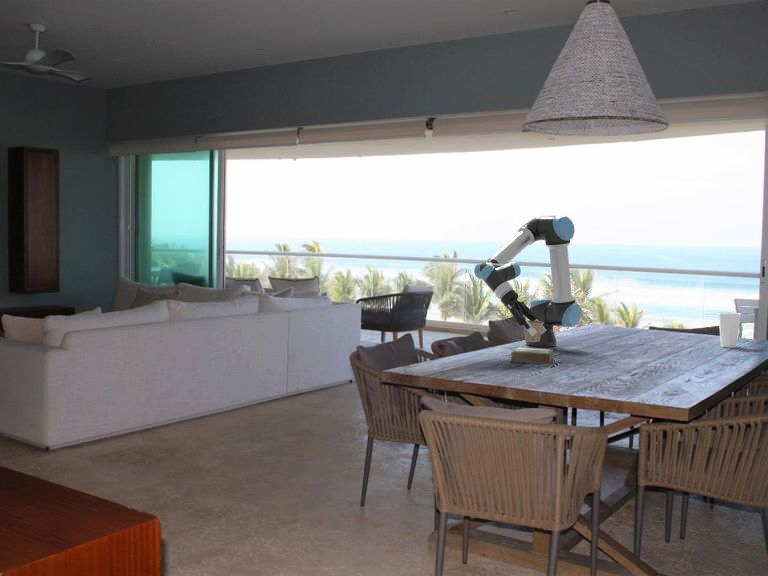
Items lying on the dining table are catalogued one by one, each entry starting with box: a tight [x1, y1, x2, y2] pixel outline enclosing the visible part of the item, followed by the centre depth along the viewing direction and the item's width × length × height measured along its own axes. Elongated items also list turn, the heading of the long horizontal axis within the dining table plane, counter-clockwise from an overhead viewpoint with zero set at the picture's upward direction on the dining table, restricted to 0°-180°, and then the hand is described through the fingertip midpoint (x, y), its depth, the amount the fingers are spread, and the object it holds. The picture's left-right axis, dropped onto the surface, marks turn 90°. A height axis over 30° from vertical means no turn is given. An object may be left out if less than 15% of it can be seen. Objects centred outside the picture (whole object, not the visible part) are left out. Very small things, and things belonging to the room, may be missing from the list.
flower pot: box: [523, 320, 544, 343], centre depth 342 cm, size 9×9×9 cm
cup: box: [717, 311, 742, 349], centre depth 400 cm, size 11×10×17 cm
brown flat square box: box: [510, 347, 554, 365], centre depth 343 cm, size 16×16×4 cm
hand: (539, 333), depth 340 cm, fingers closed on flower pot, 9 cm apart
